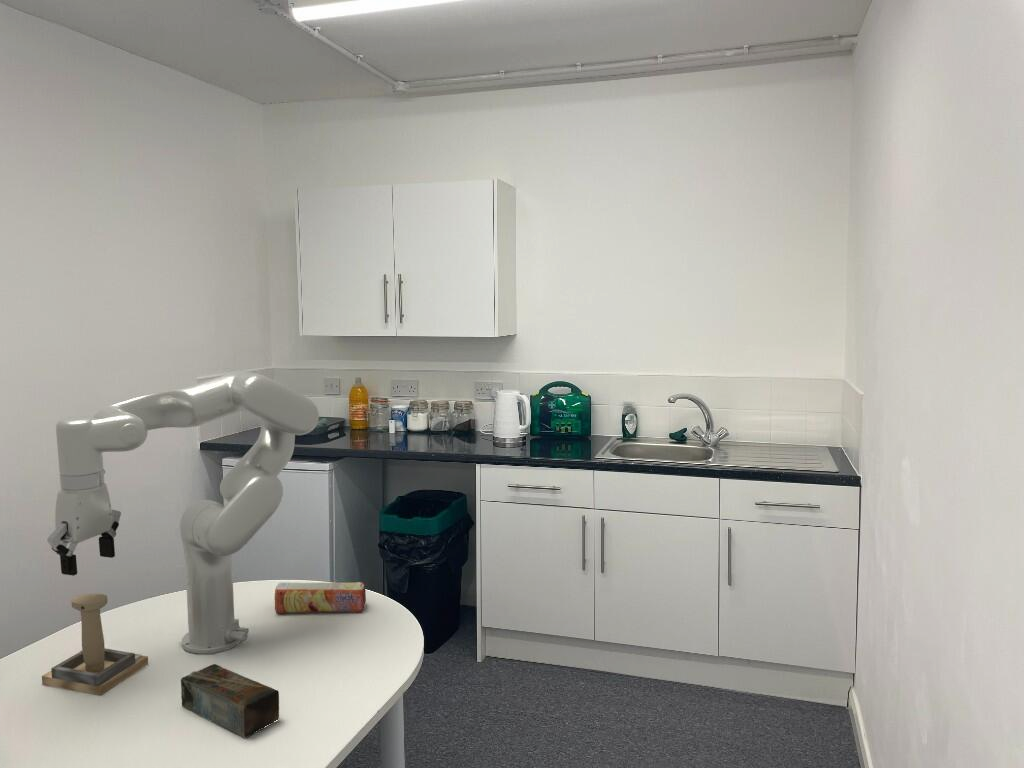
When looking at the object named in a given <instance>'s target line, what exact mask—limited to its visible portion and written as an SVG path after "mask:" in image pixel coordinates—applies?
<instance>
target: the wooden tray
mask: <svg viewBox="0 0 1024 768" xmlns="http://www.w3.org/2000/svg"><path fill="white" fill-rule="evenodd" d="M103 662H104V668H103V669H101V671H99V672H94V673H92V672H88V671H86V668H85V665H86V664H85V662H84V658H83V652H82V650H80V651H79V652H78V653H77V652H76V654H74V655H73V656H69V658H67V659H64V660H63V661H61V662H60V663H58V664H56V665H55V666H53V667H51V668H50V669H51V670H50V671H48V672H46V673H44V674H43V675H41V685H43V686H49V687H51V688H52V687H53V688H58V689H63V690H64V689H65V690H67V691H68V690H69V691H73V692H80V693H84V694H91V695H96V696H103V695H104V694H105V693H107V692H108V691H110V690H112V689H113V688H115V687H116V686H118V685H119V684H121V683H122V682H124V681H125V680H127V679H128V678H130V677H131V676H133V675H135V674H136V673H138V672H140V671H141V670H143V669H144V668H145V667H147V666H148V665H149V656H147V655H142V654H138V653H135V652H129V651H123V650H117V649H111V648H106V647H105V654H104V661H103ZM146 665H147V666H146Z"/></svg>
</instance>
